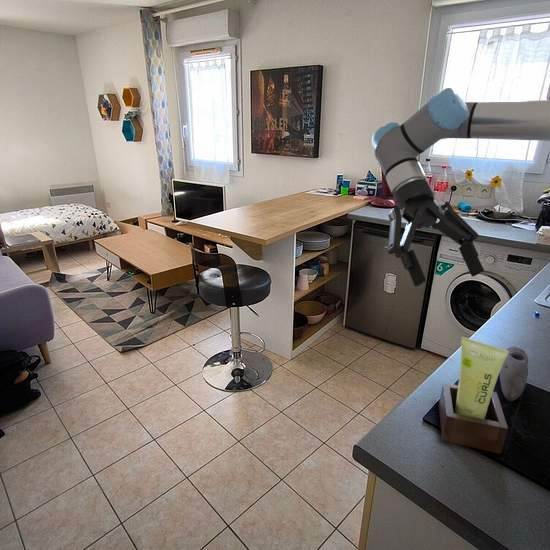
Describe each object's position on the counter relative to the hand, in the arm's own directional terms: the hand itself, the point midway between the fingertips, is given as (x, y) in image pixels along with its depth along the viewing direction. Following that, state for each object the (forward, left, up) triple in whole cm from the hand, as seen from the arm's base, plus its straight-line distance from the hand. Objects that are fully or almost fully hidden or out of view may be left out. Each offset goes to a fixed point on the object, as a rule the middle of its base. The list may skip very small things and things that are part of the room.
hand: (450, 278), depth 70 cm
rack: (-6, +9, -28) cm, 30 cm away
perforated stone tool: (-17, -7, -28) cm, 33 cm away
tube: (-6, +8, -28) cm, 30 cm away
